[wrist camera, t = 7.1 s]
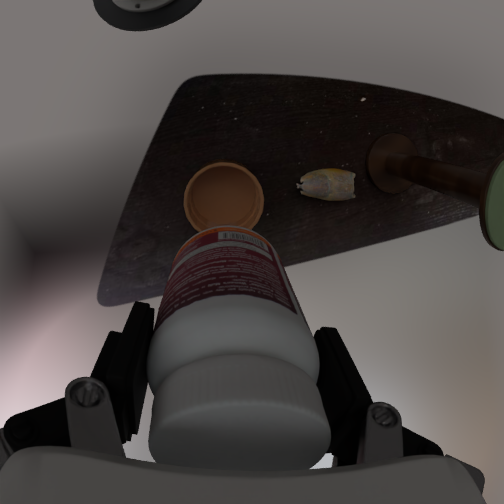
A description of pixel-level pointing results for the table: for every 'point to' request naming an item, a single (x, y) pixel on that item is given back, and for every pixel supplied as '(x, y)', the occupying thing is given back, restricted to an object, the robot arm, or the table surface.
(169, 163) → the table surface
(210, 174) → the bowl
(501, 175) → the coaster
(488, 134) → the table surface
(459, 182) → the stand
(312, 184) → the cream hollow shell
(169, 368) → the pill bottle
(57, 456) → the robot arm
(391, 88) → the table surface
